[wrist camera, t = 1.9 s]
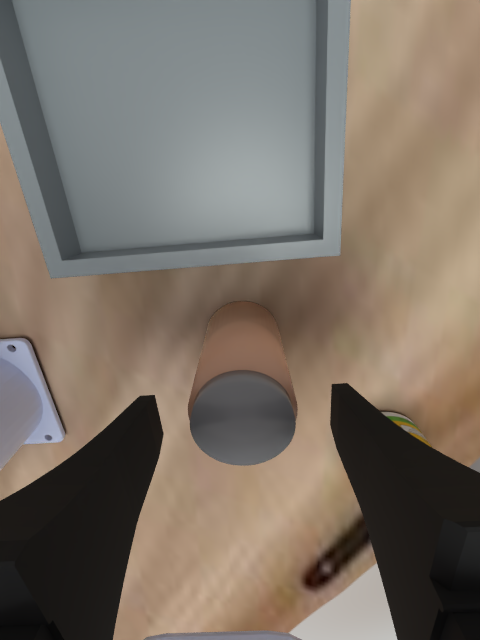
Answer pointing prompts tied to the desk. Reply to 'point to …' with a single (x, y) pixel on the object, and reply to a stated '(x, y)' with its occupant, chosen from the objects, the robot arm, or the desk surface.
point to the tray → (176, 129)
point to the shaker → (242, 388)
